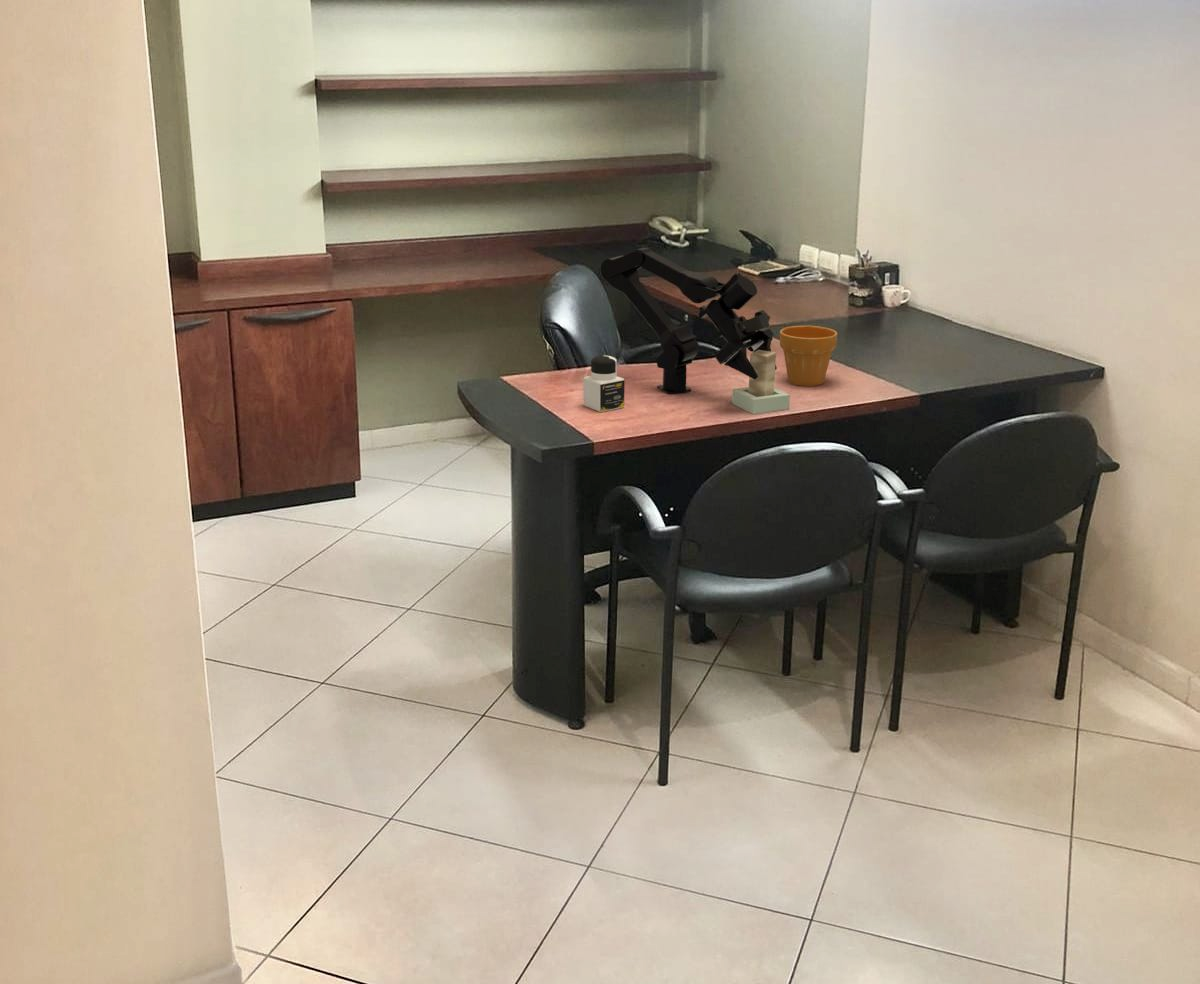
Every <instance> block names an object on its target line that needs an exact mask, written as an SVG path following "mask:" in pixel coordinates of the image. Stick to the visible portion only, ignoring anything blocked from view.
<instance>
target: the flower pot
mask: <svg viewBox="0 0 1200 984" xmlns="http://www.w3.org/2000/svg"><path fill="white" fill-rule="evenodd" d="M837 343H838V332H837V331H836V330H834V329H832V328H830V327H829V328H828V327H823V326H819V325H817V326H816V325H792V326H786V327H783V328H782V329H781V330H779V347H780V348H781V349H782V350H783V356H784V363H785V368H786V374H787V379H788V382H789V383H790V384H792V385H795V386H800V387H805V386H806V387H816V386H820V385H822V384H824V381H825V379H826V376H827V375H826V374H827V370H828V368H829V364H830V360H831V356H832V353H833V351H835V349H836V348H837Z"/></svg>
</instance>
